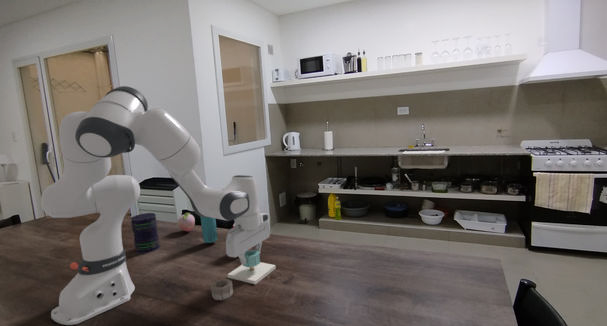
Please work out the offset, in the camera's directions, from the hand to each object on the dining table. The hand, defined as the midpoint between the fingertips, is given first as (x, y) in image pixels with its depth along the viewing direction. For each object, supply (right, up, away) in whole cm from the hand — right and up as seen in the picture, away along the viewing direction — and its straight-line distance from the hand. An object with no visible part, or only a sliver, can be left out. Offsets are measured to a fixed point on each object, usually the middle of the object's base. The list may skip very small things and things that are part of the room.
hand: (251, 258), depth 113 cm
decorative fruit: (-40, -1, +48) cm, 63 cm away
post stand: (0, -5, +1) cm, 6 cm away
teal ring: (0, -2, 0) cm, 2 cm away
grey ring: (-7, -8, -12) cm, 16 cm away
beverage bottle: (-23, -3, +31) cm, 39 cm away
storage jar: (-50, -5, +29) cm, 59 cm away
